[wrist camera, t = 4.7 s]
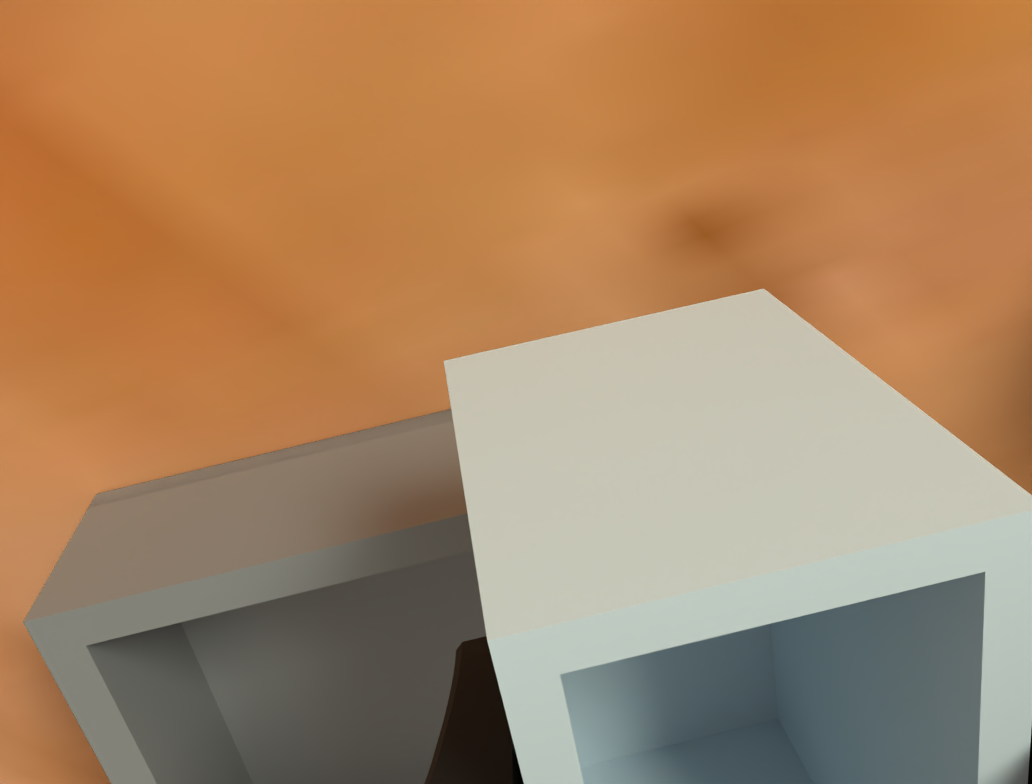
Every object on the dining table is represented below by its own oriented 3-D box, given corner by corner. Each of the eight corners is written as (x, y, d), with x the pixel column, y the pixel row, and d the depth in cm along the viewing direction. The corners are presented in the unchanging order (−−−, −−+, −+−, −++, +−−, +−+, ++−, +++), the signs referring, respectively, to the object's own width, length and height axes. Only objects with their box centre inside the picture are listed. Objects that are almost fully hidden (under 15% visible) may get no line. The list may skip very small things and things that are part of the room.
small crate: (796, 712, 16) (1006, 1080, 11) (543, 774, 16) (625, 1183, 10) (763, 288, 13) (1047, 506, 7) (443, 360, 13) (486, 640, 7)
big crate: (773, 766, 26) (844, 907, 22) (282, 893, 26) (263, 1062, 22) (728, 342, 21) (814, 428, 17) (96, 494, 20) (23, 621, 16)
